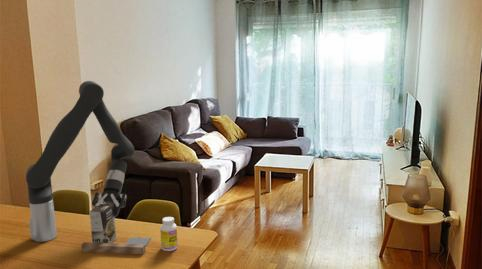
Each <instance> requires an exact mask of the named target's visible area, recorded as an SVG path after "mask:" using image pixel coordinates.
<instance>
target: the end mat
mask: <svg viewBox="0 0 482 269" xmlns="http://www.w3.org/2000/svg"><path fill="white" fill-rule="evenodd" d="M151 240H152V238H151V237H129V239H128V240H127V241H126V242H125V244H139V245H145V248H146V247H147V245H148V244H149V242H150V241H151Z"/></svg>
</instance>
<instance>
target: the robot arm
mask: <svg viewBox="0 0 482 269" xmlns="http://www.w3.org/2000/svg"><path fill="white" fill-rule="evenodd" d="M78 94H79V98H78V99H77V101H76V103H75V104H74V106H73V107H72V109H71V110H70V111H68V113H66V115H64V116H63V117H62V119H61V120H60V121H59V122H58V123H57V125H56V126H55V127H54V130H52V133H51V135H50V136H49V138H48V140H47V143H46V145H45V147H44V150H43V152H42V154H41V156H40V157H39V158H38V160H37V161H36V162H35V163H33V164H31V165H30V166H29V167H28V168H27V170H26V173H25V181H26V184H27V192H28V195H27V196H28V203H29V212H30V218H29V221H28V222H29V230H30V238H31V240H32V241H35V242H37V243H40V242H41V243H43V242H49V241H51V240H53V239H55V238H56V237H57V235H58V234H57V232H58V231H57V225H56V216H55V205H54V197H53V186H52V175H53V174H54V171H55V170H56V167H57V166H58V164H59V162H60V161H61V160H62V158H63V157H64V156H65V155H66V153H67V152H68V150H69V149H70V147H72V145H73V143H75V140H76V138H77V137H78V136H79V134H80V132H81V130H82V129H83V127H84V126H85V124H86V122H87V120H88V118H89V117H90V115H91V114H92V112H93V114H94V116H95V118H96V120H97V122H98V124H99V125H100V127H101V130H102V131H103V133H104V135H105V137H106V138H107V140H108V142H109V143H111V144H115V145H114V146H112V148H111V150H110V154H111V155H110V158H111V160H110V161H111V163H110V164H111V165H110V168H109V171H108V174H107V177H106V179H105V183H104V186H103V191H102V193H99V192H95V193H94V197H93V199H92V202H91V205H92V206H93V207H94V208H96V207H97V206H99V205H100V204H113V205H114V217H115V218H117V217H118V216H119V213H120V210H121V209H123V208H126V204H127V203H126V202H127V199H128V195H127V194H126V193H125V192H123V193H122V189H123V184H124V181H125V175H126V172H127V168H128V166H127V165H128V164H127V162H126V161H125V160H122V159H128V158H132V157H133V156H134V155H135V146H134V145H133V143H132V142H131V140H129V138H127V137H126V135H124V134H123V132H122V130H121V128H120V126H119V124H118V123H117V121H116V120H115V118H114V117H113V115H112V114H111V112H110V111H109V109H108V108H107V106H106V104H105V102H104V95H105V93H104V89H103V87H102V86H101V85H100V84H99V83H97V82H95V81H92V80H86V81H83V82H82V83H81V84H80V85H79V88H78ZM120 198H121V200H120V203H119V199H120Z"/></svg>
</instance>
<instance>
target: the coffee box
mask: <svg viewBox="0 0 482 269" xmlns="http://www.w3.org/2000/svg"><path fill="white" fill-rule="evenodd" d="M114 211H115V204H114V203H113V204H111V203H109V204H106V203H105V204H100V205H99V206H97V207H96V208H95V207H94V208H93V209H91V210H90V211H89V219H90V230H91V241H92V242H91V243H114V242H115V241H116V240H117V231H116V230H117V227H116V217H114Z"/></svg>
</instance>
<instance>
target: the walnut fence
mask: <svg viewBox="0 0 482 269" xmlns="http://www.w3.org/2000/svg"><path fill="white" fill-rule="evenodd" d="M81 252H82V253H103V254H123V255H124V254H127V255H144V254H145V253H146V247H145V245H139V244H126V243H114V242H112V243H92V242H85V241H83V243H82V244H81Z"/></svg>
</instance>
